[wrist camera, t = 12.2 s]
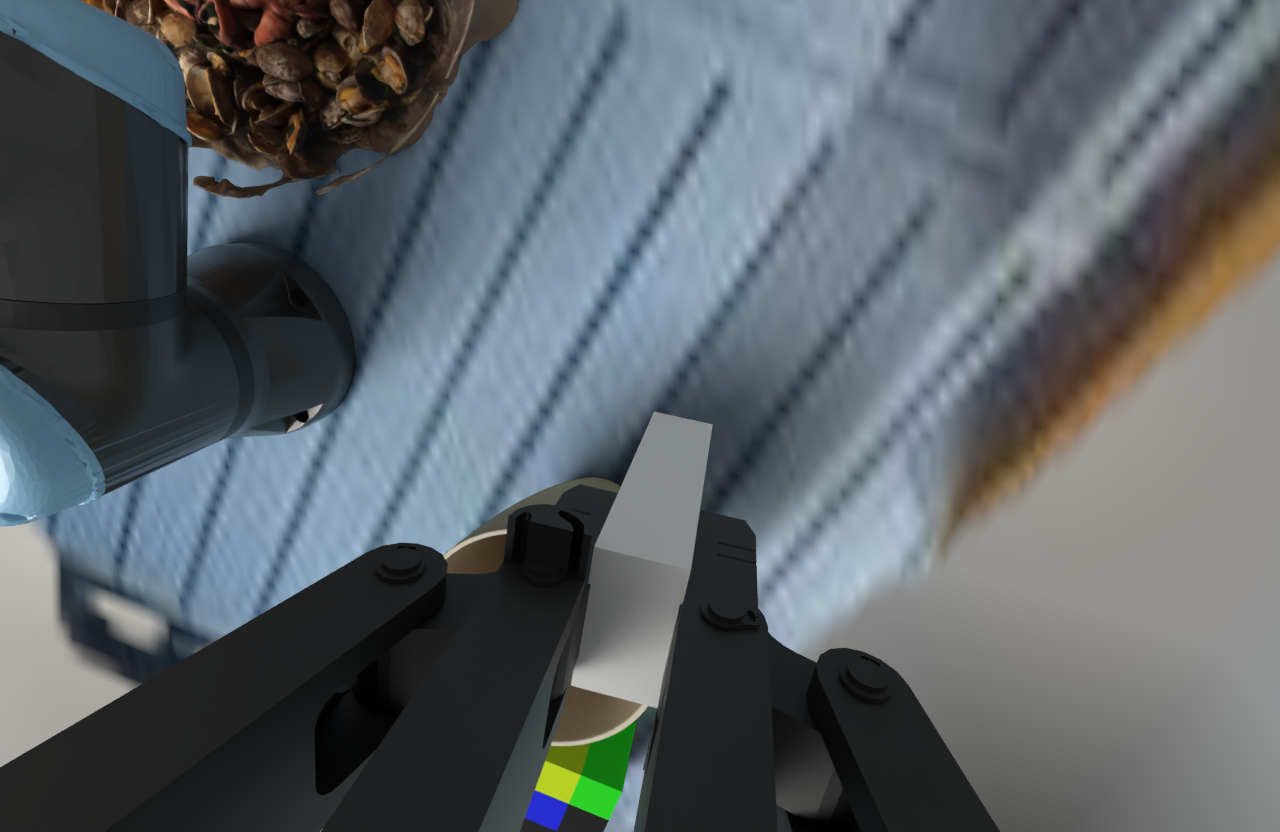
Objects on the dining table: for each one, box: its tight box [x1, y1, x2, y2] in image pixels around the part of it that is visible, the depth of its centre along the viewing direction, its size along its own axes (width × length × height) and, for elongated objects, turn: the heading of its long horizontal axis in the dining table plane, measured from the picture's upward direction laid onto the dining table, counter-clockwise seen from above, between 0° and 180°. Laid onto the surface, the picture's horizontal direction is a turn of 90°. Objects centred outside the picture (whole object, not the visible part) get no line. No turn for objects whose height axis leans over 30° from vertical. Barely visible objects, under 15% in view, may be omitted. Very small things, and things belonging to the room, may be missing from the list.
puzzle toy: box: [520, 719, 637, 832], centre depth 53 cm, size 10×10×10 cm
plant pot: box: [443, 477, 648, 746], centre depth 43 cm, size 15×15×16 cm
